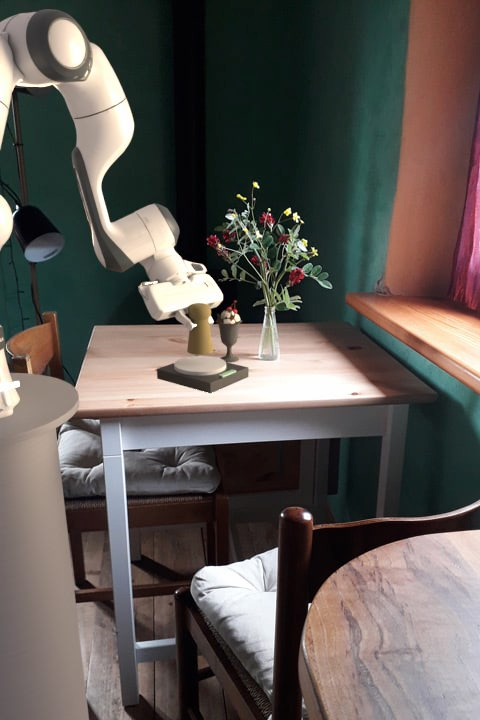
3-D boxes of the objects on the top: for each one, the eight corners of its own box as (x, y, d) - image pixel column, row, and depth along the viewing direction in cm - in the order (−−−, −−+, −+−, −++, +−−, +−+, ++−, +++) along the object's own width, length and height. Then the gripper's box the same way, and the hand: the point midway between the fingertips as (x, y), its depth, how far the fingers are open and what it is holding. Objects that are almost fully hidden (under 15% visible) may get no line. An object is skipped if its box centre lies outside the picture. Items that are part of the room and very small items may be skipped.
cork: (212, 355, 139) (211, 306, 135) (185, 354, 139) (184, 306, 135) (214, 347, 145) (214, 301, 141) (188, 346, 145) (187, 300, 141)
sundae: (246, 357, 159) (246, 299, 154) (236, 364, 153) (236, 305, 148) (222, 354, 161) (222, 297, 156) (212, 361, 155) (211, 302, 150)
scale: (210, 393, 134) (210, 378, 133) (157, 378, 143) (156, 364, 141) (248, 377, 145) (248, 363, 144) (196, 364, 153) (196, 350, 152)
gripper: (141, 274, 132) (173, 327, 130) (208, 264, 147) (239, 311, 144) (129, 292, 136) (160, 343, 134) (196, 280, 151) (225, 326, 149)
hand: (202, 326), depth 139 cm, fingers closed on cork, 4 cm apart
